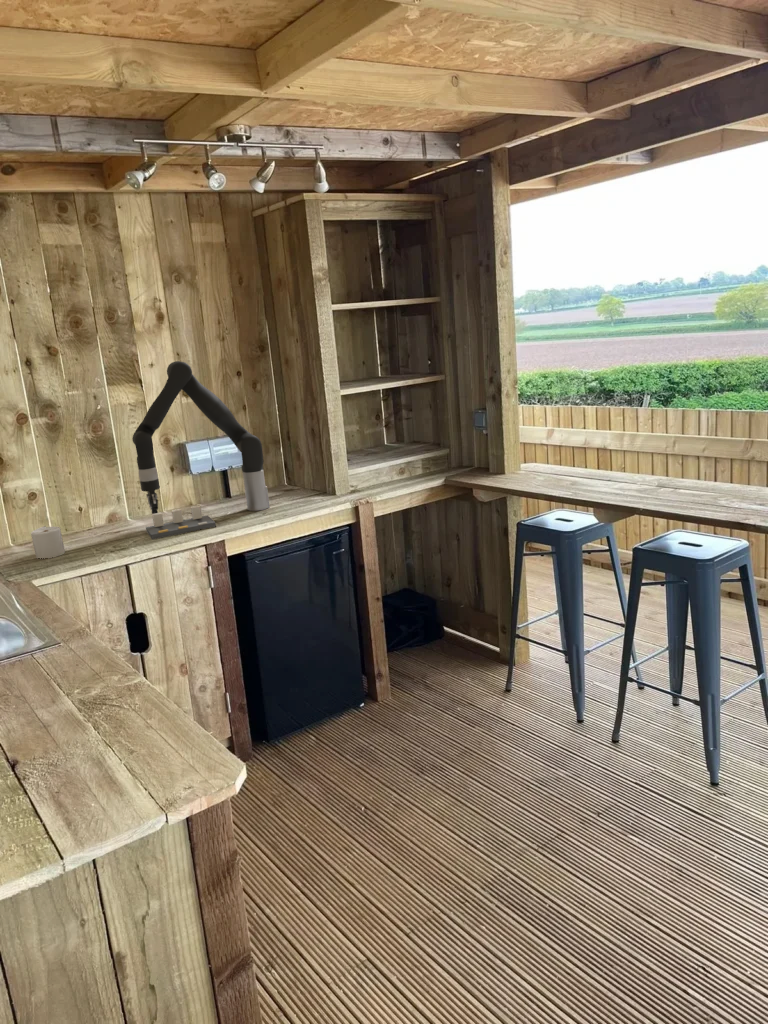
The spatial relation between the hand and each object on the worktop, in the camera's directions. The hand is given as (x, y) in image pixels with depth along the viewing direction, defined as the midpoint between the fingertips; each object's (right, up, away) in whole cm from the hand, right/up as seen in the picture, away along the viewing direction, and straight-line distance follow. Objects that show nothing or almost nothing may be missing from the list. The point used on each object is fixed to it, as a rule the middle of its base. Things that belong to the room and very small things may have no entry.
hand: (155, 518), depth 328 cm
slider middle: (+10, -1, -2) cm, 10 cm away
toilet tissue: (-34, -14, -24) cm, 44 cm away
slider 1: (+3, -3, -5) cm, 7 cm away
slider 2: (+17, 0, +1) cm, 17 cm away
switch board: (+12, -4, -5) cm, 14 cm away
